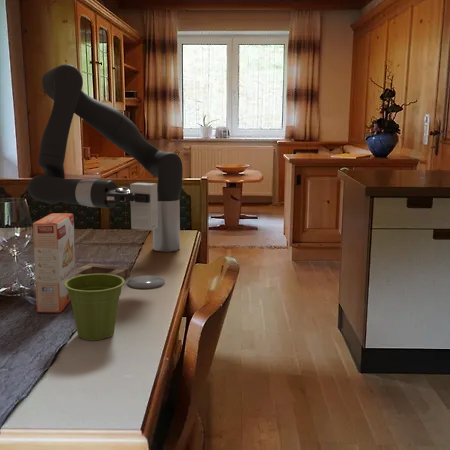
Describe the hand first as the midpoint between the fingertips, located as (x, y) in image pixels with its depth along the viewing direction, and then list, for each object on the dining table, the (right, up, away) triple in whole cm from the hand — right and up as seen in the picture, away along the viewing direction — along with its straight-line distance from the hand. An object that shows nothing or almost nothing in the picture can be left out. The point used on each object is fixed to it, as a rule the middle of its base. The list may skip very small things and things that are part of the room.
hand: (153, 197), depth 137 cm
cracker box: (-21, -26, -11) cm, 36 cm away
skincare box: (-3, -8, +3) cm, 9 cm away
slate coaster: (-3, -23, +5) cm, 24 cm away
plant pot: (-8, -30, -29) cm, 43 cm away
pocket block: (-17, -22, +8) cm, 29 cm away
